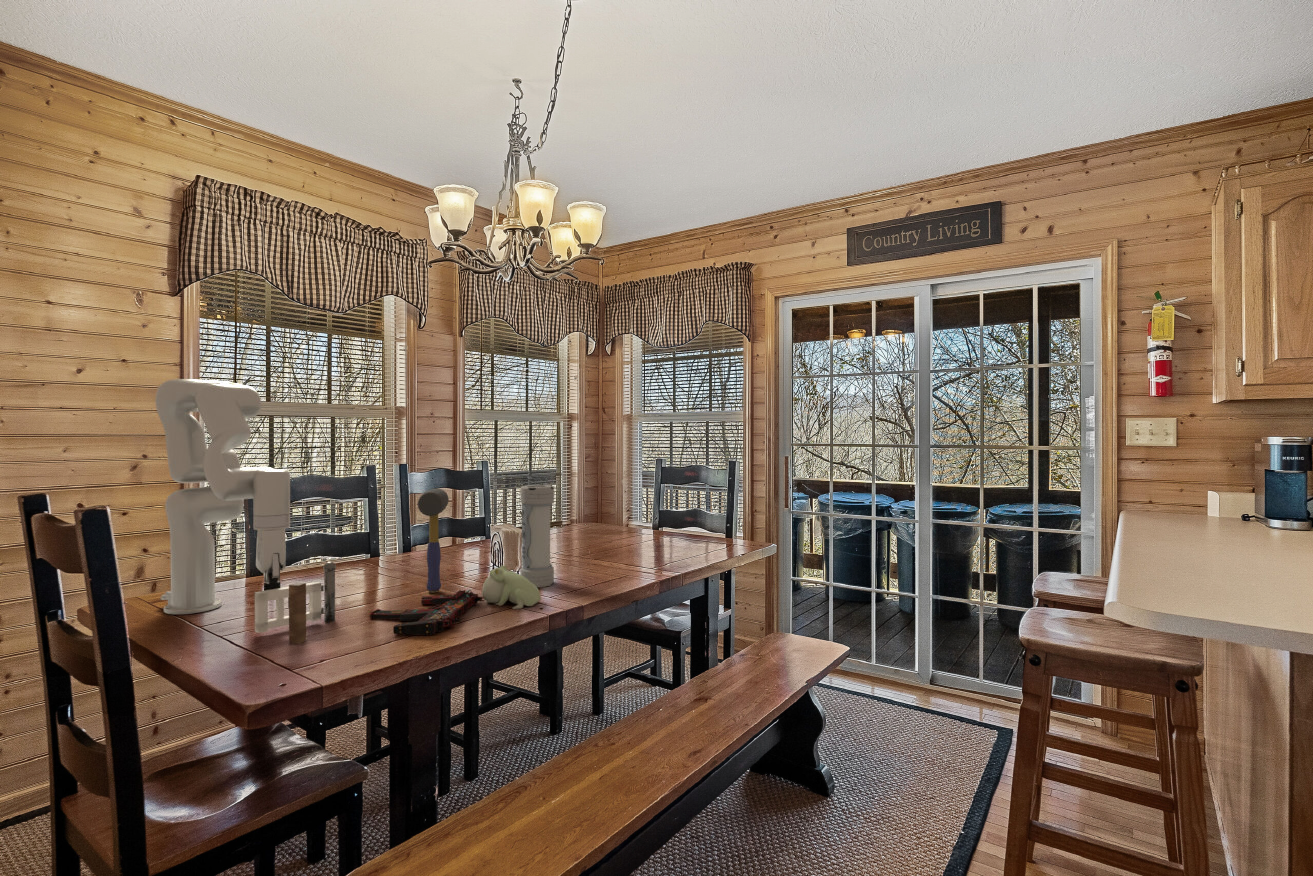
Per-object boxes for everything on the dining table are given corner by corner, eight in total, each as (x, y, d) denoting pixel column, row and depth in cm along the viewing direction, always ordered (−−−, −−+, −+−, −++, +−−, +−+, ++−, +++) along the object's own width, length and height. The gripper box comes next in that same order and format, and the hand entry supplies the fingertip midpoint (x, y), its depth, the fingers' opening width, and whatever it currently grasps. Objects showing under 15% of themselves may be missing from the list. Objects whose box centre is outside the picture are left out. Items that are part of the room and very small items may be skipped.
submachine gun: (404, 588, 188) (492, 584, 188) (405, 601, 188) (493, 597, 188) (345, 624, 154) (452, 619, 153) (345, 640, 154) (453, 636, 153)
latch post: (287, 643, 148) (287, 585, 147) (295, 640, 150) (294, 582, 150) (298, 644, 147) (298, 585, 147) (306, 640, 149) (306, 583, 149)
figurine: (492, 597, 189) (492, 561, 189) (546, 601, 185) (546, 565, 184) (473, 606, 179) (473, 569, 179) (530, 611, 175) (530, 573, 175)
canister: (515, 587, 200) (515, 487, 199) (527, 579, 210) (527, 484, 209) (547, 588, 198) (547, 488, 197) (558, 581, 208) (558, 485, 207)
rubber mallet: (443, 597, 188) (443, 490, 187) (416, 598, 187) (415, 491, 186) (450, 586, 200) (450, 486, 200) (424, 587, 199) (424, 487, 199)
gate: (254, 631, 153) (254, 592, 153) (320, 617, 164) (320, 581, 164) (258, 633, 151) (258, 593, 151) (324, 619, 163) (324, 582, 163)
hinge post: (320, 621, 164) (320, 562, 163) (328, 618, 166) (328, 560, 166) (331, 622, 163) (330, 563, 163) (338, 619, 166) (338, 560, 166)
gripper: (248, 519, 161) (249, 595, 161) (258, 527, 149) (258, 609, 149) (284, 517, 165) (284, 590, 166) (296, 524, 154) (296, 603, 154)
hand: (272, 599), depth 157 cm, fingers closed
